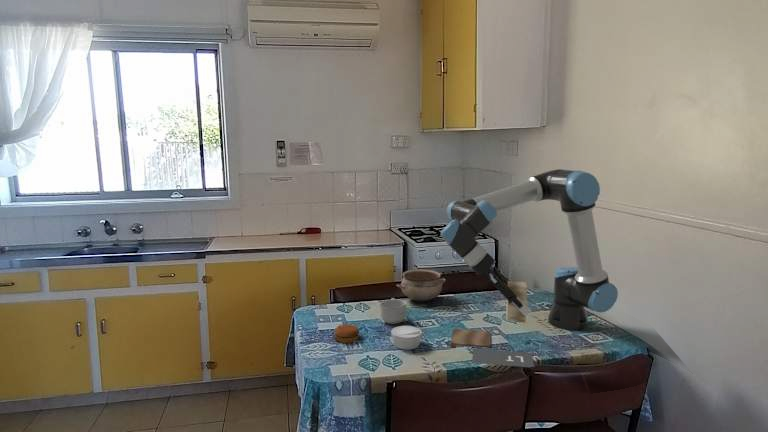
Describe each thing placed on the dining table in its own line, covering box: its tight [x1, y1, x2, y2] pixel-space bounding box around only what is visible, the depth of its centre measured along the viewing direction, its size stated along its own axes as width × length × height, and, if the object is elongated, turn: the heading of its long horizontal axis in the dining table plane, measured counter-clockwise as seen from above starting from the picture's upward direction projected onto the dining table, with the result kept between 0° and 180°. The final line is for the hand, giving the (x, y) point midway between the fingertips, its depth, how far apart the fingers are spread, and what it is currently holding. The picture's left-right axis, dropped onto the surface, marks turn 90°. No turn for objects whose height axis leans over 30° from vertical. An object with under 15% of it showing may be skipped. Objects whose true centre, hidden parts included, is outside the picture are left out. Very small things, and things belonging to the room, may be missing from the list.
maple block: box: [505, 280, 528, 324], centre depth 173 cm, size 6×6×12 cm
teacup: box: [379, 297, 407, 325], centre depth 214 cm, size 14×11×8 cm
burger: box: [333, 323, 360, 344], centre depth 195 cm, size 10×9×5 cm
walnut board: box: [450, 328, 491, 348], centre depth 193 cm, size 14×14×2 cm
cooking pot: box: [396, 269, 447, 303], centre depth 239 cm, size 25×19×12 cm
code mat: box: [471, 348, 535, 368], centre depth 176 cm, size 20×12×1 cm, turn 79°
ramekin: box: [390, 325, 423, 350], centre depth 189 cm, size 11×11×5 cm
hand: (527, 309), depth 172 cm, fingers closed on maple block, 6 cm apart
